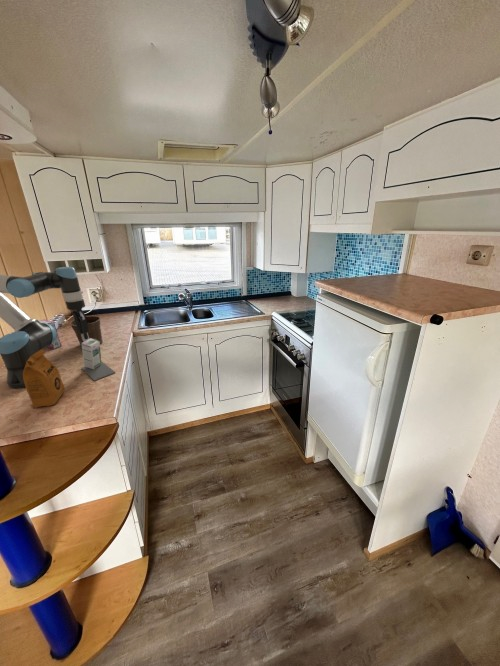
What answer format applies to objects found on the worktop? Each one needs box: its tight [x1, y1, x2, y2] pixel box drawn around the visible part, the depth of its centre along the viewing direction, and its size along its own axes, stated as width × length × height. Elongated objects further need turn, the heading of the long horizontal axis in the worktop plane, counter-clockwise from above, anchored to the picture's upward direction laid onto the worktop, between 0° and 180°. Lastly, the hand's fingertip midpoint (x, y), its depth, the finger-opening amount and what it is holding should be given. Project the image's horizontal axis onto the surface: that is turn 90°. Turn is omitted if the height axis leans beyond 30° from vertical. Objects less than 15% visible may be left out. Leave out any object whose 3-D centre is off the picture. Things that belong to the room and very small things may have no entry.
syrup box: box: [81, 338, 102, 369], centre depth 138 cm, size 6×6×14 cm
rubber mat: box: [81, 360, 116, 382], centre depth 138 cm, size 10×18×1 cm, turn 48°
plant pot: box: [69, 315, 104, 348], centre depth 165 cm, size 16×16×16 cm
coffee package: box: [23, 349, 66, 409], centre depth 112 cm, size 10×12×22 cm
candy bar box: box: [38, 319, 62, 350], centre depth 164 cm, size 11×5×16 cm, turn 62°
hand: (87, 344), depth 138 cm, fingers closed
